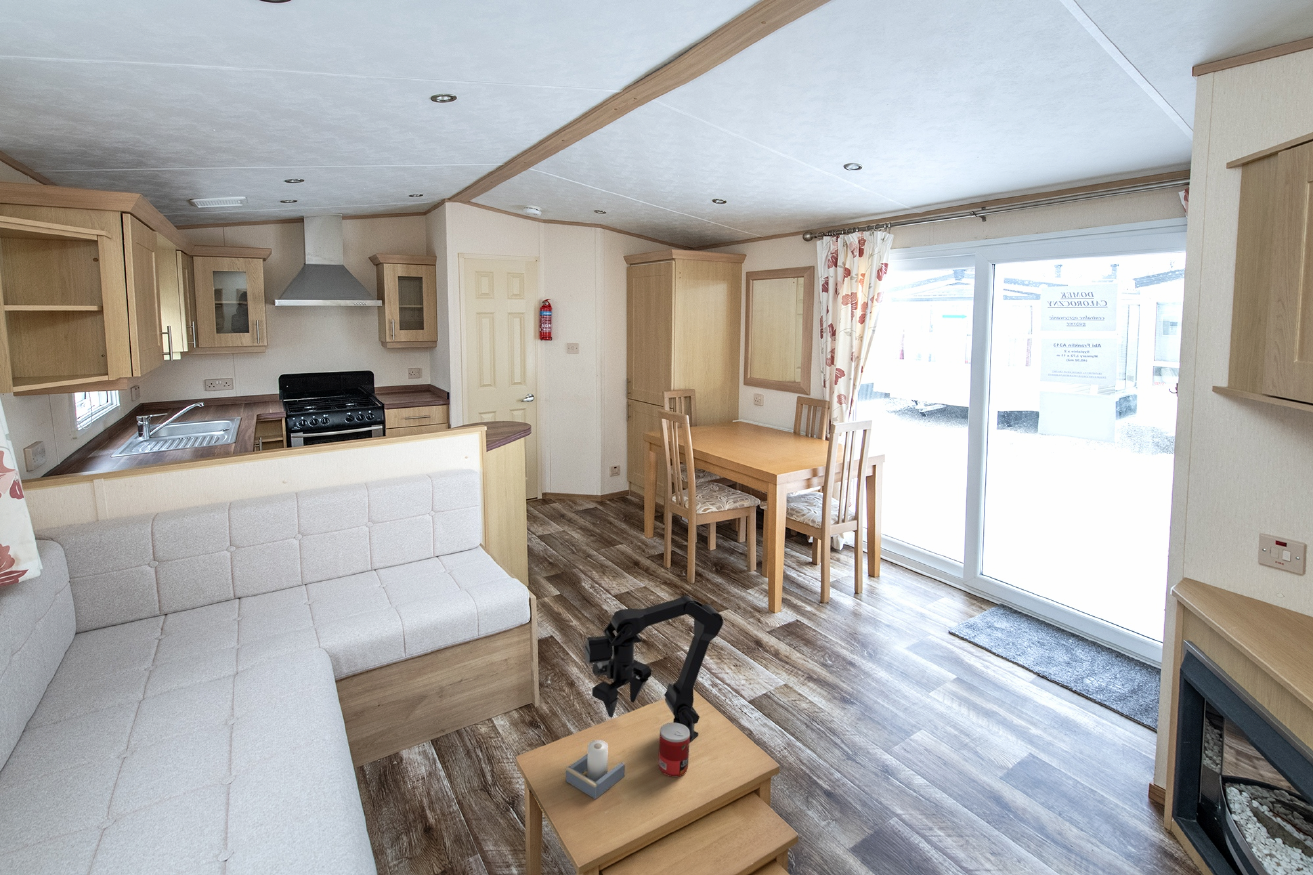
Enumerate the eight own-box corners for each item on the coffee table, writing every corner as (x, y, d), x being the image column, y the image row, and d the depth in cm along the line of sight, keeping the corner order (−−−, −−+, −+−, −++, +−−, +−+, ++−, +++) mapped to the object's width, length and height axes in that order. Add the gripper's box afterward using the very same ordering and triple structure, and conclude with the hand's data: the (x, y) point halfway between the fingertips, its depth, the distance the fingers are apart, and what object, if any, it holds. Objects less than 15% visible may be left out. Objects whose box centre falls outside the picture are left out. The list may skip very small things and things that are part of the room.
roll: (596, 767, 181) (597, 736, 179) (611, 776, 177) (612, 745, 176) (582, 777, 177) (583, 746, 175) (597, 786, 173) (598, 754, 172)
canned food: (685, 779, 177) (687, 742, 175) (655, 774, 179) (657, 737, 177) (690, 761, 185) (691, 724, 182) (661, 756, 186) (662, 720, 184)
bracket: (595, 759, 184) (595, 745, 183) (624, 776, 178) (624, 762, 177) (564, 781, 175) (565, 767, 174) (594, 799, 169) (594, 785, 168)
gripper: (623, 635, 196) (621, 684, 199) (577, 660, 181) (576, 713, 184) (653, 648, 189) (651, 699, 192) (608, 674, 175) (607, 729, 177)
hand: (621, 709), depth 187 cm, fingers open, 9 cm apart
